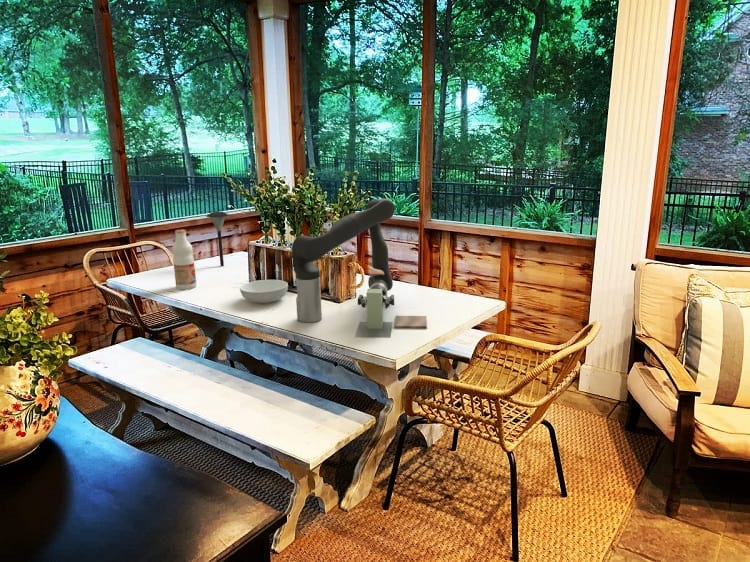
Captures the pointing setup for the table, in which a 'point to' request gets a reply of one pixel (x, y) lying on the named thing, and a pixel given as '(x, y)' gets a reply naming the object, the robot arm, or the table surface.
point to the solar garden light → (218, 229)
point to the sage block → (374, 309)
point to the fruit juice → (183, 262)
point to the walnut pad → (411, 322)
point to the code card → (374, 331)
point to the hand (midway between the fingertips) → (375, 305)
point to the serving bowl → (264, 290)
